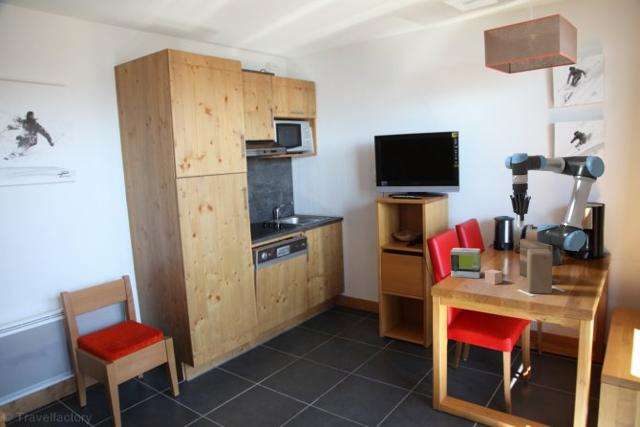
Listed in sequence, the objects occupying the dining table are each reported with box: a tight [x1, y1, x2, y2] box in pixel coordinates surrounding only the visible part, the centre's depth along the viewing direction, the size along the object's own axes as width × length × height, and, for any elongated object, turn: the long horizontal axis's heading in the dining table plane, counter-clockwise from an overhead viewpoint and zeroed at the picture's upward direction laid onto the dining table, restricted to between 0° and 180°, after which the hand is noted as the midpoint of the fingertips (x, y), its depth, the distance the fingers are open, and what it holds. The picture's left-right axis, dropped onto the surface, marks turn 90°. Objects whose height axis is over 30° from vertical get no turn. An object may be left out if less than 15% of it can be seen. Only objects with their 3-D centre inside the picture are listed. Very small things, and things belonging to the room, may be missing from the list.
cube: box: [484, 269, 503, 285], centre depth 235 cm, size 6×6×6 cm
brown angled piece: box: [518, 238, 561, 285], centre depth 236 cm, size 8×20×20 cm, turn 17°
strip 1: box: [516, 288, 535, 297], centre depth 216 cm, size 2×10×1 cm, turn 17°
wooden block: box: [526, 249, 553, 295], centre depth 217 cm, size 10×10×20 cm
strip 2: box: [552, 285, 565, 292], centre depth 221 cm, size 2×10×1 cm, turn 17°
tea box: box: [450, 247, 482, 279], centre depth 249 cm, size 15×10×15 cm
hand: (520, 226), depth 240 cm, fingers closed
